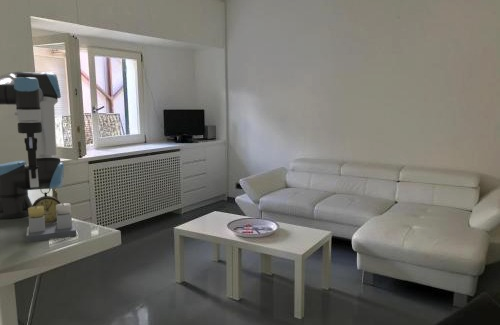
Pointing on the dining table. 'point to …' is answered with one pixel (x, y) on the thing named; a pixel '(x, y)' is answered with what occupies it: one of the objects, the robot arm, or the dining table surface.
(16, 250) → the dining table surface
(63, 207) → the knob ivory
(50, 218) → the alarm clock
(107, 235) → the dining table surface
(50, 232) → the mount
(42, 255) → the dining table surface
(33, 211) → the knob mustard
